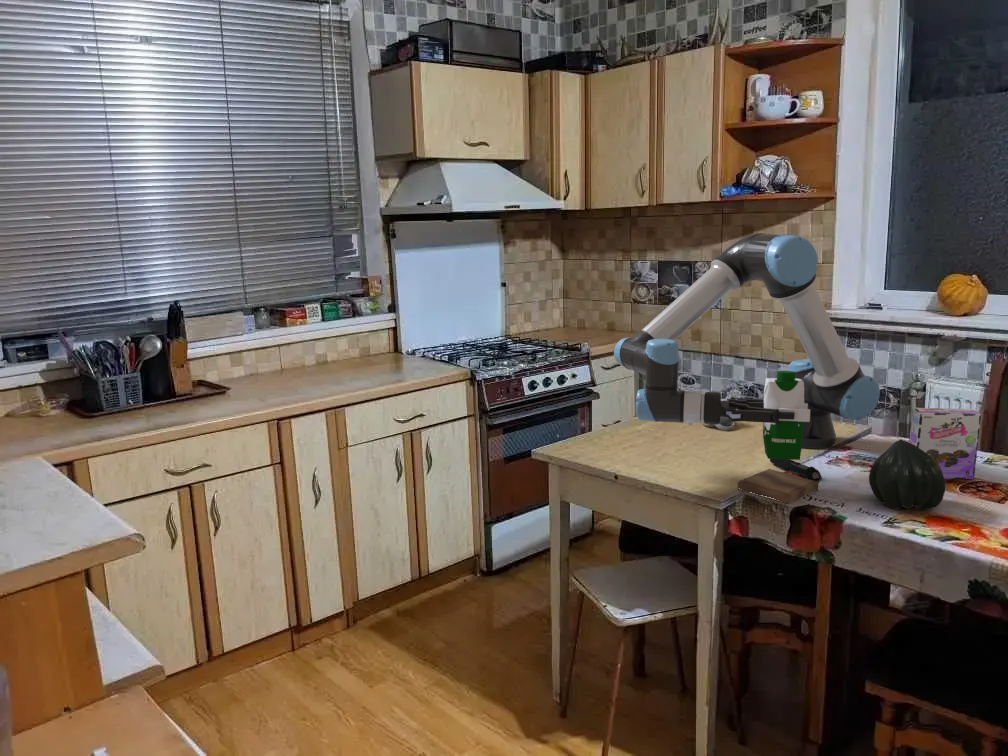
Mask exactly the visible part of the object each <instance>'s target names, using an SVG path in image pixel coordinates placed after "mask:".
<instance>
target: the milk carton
mask: <svg viewBox="0 0 1008 756" xmlns="http://www.w3.org/2000/svg"><path fill="white" fill-rule="evenodd" d="M763 399H764V408H769V409H778V410H779V409H780V408H789V409H804V382H803V381H802V380H801V379H795V372H793V371H788V370H778V371H776V378H775V377H770V378H769V377H766V378H765V384H764V389H763ZM803 424H804V422H801V421H780V420H779V424H776V423H766V422H762V439H763V446H764V453H765V455H766V458H767V459H768V460H770V459H790V460H793V461H795V460H796V461H797V460H798V461H800V460H801V455H802V442H803Z"/></svg>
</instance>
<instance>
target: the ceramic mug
mask: <svg viewBox="0 0 1008 756" xmlns="http://www.w3.org/2000/svg"><path fill="white" fill-rule="evenodd" d="M721 401H729V399H726V398H721ZM700 424H702V425H703V426H704V427H705V428H706V427H707V428H712V427H716V428H718V429H719V430H721V431H727V432H729V431H732V430H733V429H734V426H735V422H732V421H731V419H729V418H727V417H720V423H719V424H718V425H716V424H705V423H704V421H701V423H700ZM729 424H730V425H731V426H726V425H729Z"/></svg>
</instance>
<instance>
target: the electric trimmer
mask: <svg viewBox="0 0 1008 756" xmlns="http://www.w3.org/2000/svg"><path fill="white" fill-rule="evenodd" d="M769 461H770V463H771V464H773V465H775V466H777V467H778V468H780V469H782V470H784V471H786V470H787V471H786V472H792V473H793V474H797V475H799V476H800V477H801V476H802V477H803V478H806V479H809V480H813V481H817V482H819V481H821V480H822V479H823V478H822V475H821V472H820V471H819V470H818V468H817V469H816V468H815V466H808V465H806V464H803V463H801V462H797V461H795V460H790V459H769Z"/></svg>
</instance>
